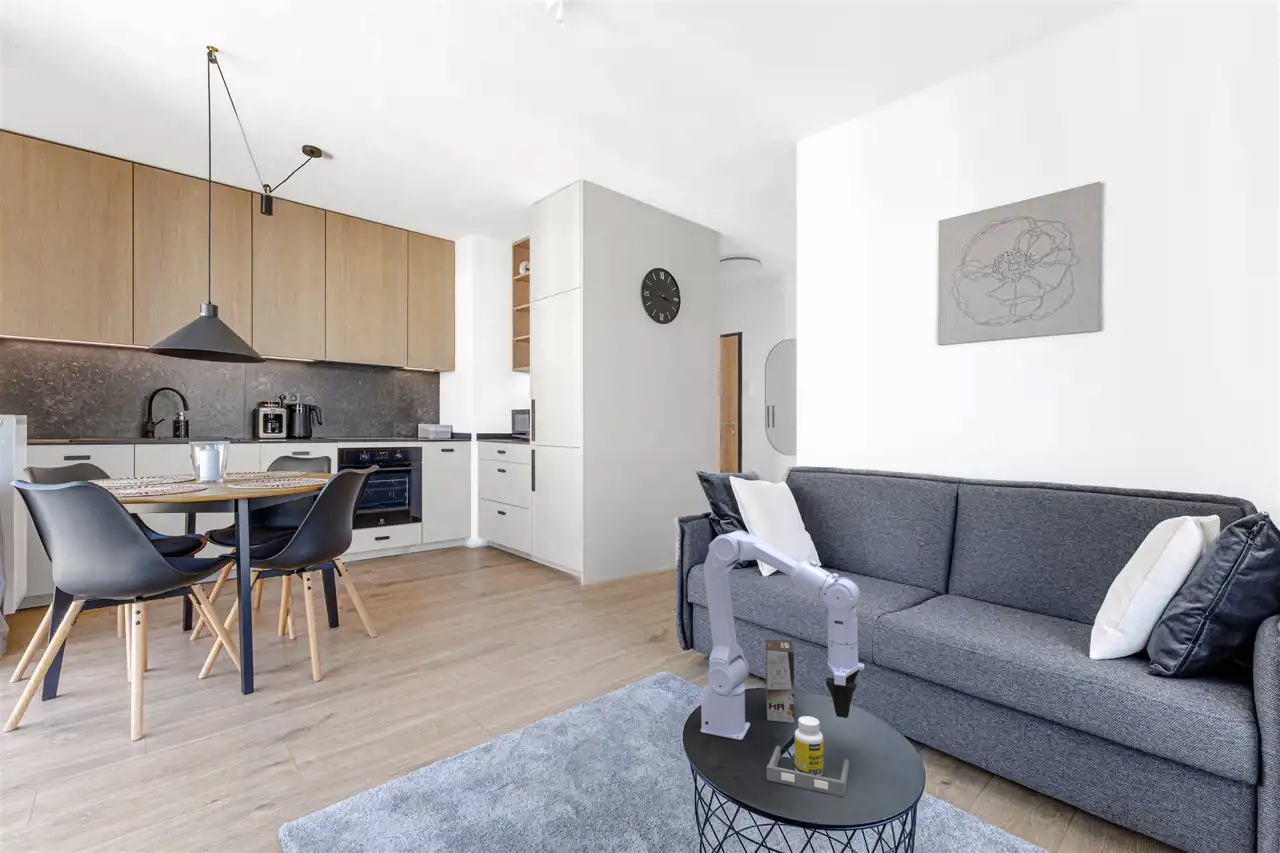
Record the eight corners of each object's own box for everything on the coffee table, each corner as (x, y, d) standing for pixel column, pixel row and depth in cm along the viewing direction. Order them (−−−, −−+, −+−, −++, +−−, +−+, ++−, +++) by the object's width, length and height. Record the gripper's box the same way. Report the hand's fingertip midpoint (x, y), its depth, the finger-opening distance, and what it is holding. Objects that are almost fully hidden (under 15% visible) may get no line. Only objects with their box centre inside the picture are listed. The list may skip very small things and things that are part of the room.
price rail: (766, 780, 112) (766, 767, 112) (776, 755, 121) (776, 743, 121) (844, 797, 106) (844, 784, 107) (848, 770, 116) (848, 757, 116)
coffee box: (795, 723, 136) (794, 652, 136) (766, 721, 137) (765, 650, 138) (793, 706, 145) (792, 639, 145) (766, 704, 146) (765, 638, 147)
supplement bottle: (810, 782, 112) (809, 729, 112) (789, 769, 116) (788, 718, 117) (829, 773, 114) (828, 722, 115) (808, 761, 119) (807, 711, 119)
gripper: (861, 654, 112) (862, 727, 111) (865, 632, 125) (867, 698, 124) (822, 649, 114) (823, 721, 114) (830, 628, 128) (832, 693, 127)
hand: (843, 708), depth 119 cm, fingers open, 7 cm apart
